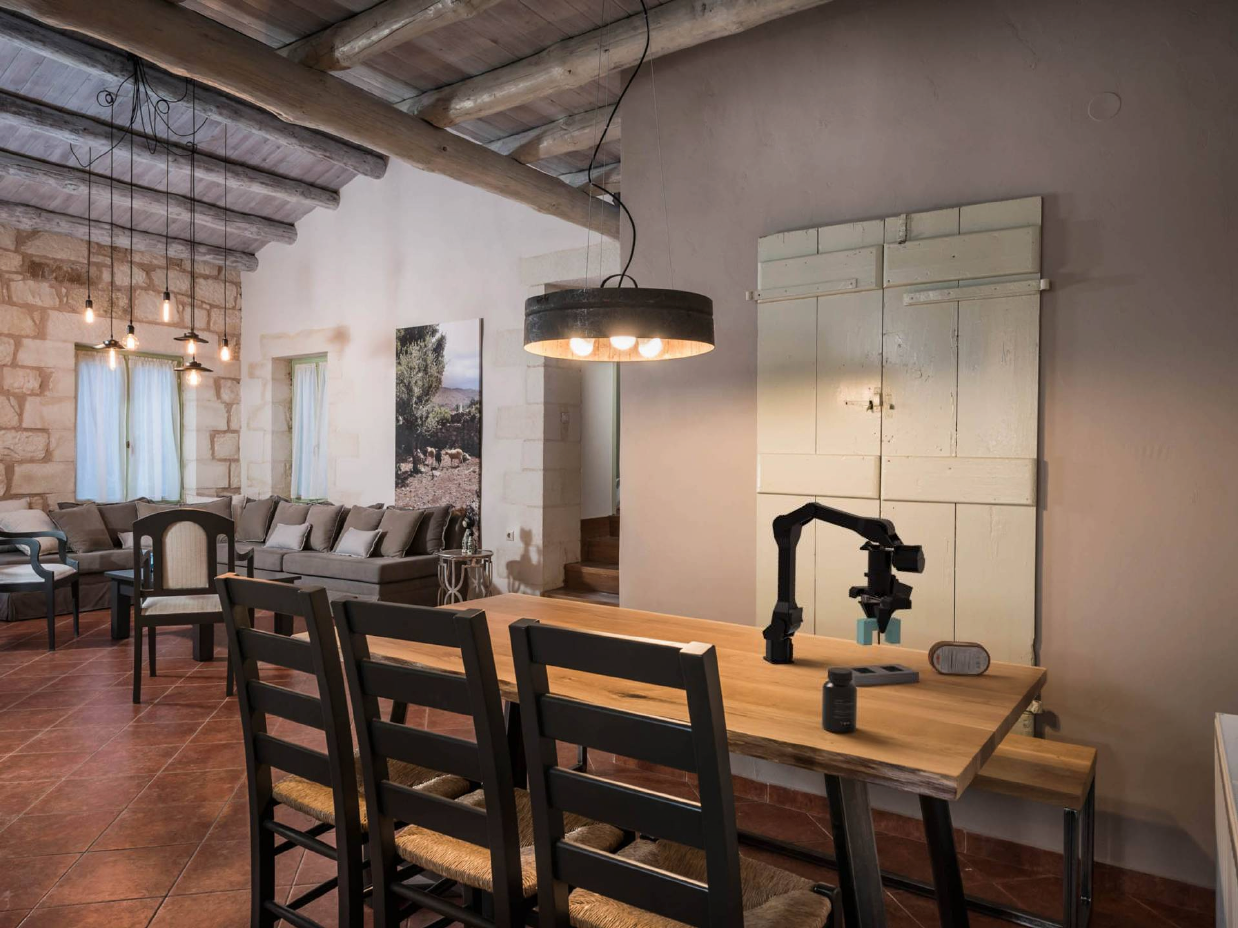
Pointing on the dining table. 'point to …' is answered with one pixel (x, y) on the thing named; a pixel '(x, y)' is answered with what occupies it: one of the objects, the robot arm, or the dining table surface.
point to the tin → (959, 658)
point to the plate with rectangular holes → (883, 674)
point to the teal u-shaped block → (870, 625)
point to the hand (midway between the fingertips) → (878, 631)
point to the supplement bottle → (839, 701)
